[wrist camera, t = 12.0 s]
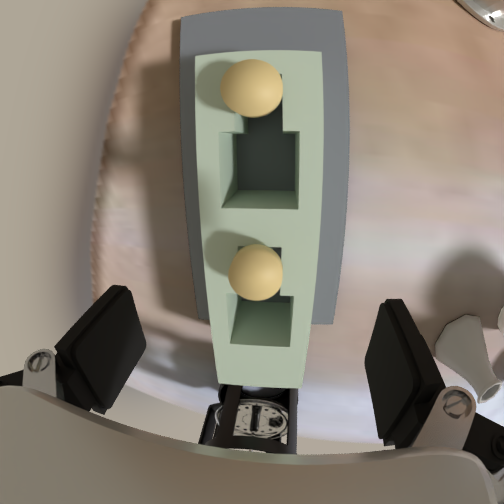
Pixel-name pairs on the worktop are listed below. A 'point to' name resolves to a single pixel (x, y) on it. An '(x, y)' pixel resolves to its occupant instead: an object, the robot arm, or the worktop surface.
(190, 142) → the board
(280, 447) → the french press
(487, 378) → the flask
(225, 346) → the pale green slotted holder
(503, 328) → the foam cup
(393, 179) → the worktop surface
